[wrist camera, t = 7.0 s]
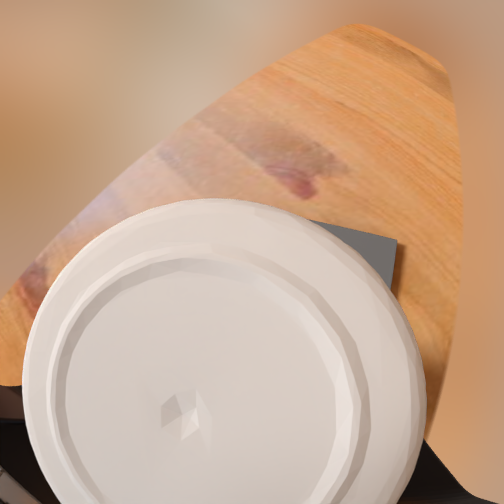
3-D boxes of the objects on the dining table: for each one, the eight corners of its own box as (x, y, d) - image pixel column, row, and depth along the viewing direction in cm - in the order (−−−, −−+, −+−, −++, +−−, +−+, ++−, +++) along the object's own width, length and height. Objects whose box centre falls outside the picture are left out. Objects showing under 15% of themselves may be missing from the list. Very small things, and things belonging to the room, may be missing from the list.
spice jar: (307, 324, 16) (359, 142, 3) (327, 411, 14) (459, 548, 2) (218, 343, 16) (5, 241, 3) (235, 430, 14) (60, 574, 2)
